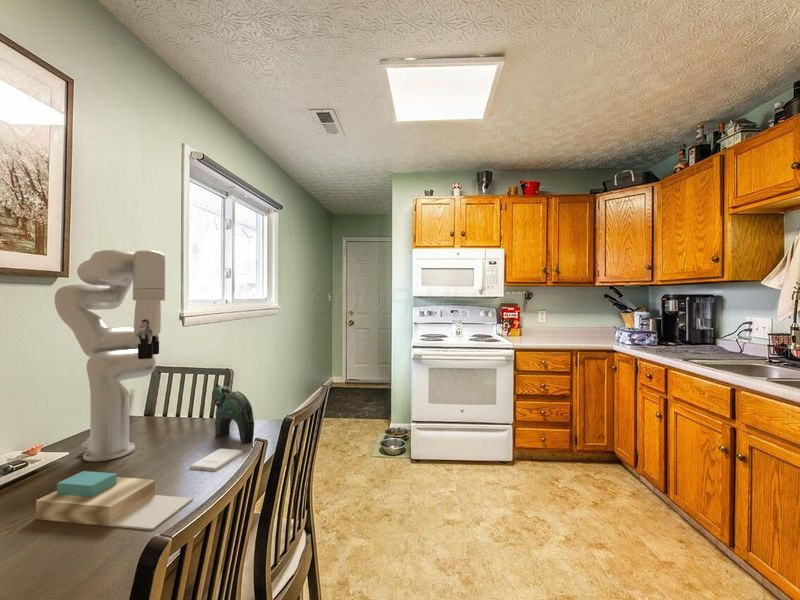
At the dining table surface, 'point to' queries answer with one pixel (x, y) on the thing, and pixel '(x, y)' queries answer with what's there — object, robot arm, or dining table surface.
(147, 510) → the mat
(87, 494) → the teal rectangular slab
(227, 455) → the external hard drive
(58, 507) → the tan wooden flat block
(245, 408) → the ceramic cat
